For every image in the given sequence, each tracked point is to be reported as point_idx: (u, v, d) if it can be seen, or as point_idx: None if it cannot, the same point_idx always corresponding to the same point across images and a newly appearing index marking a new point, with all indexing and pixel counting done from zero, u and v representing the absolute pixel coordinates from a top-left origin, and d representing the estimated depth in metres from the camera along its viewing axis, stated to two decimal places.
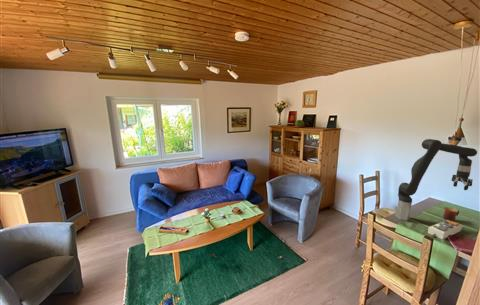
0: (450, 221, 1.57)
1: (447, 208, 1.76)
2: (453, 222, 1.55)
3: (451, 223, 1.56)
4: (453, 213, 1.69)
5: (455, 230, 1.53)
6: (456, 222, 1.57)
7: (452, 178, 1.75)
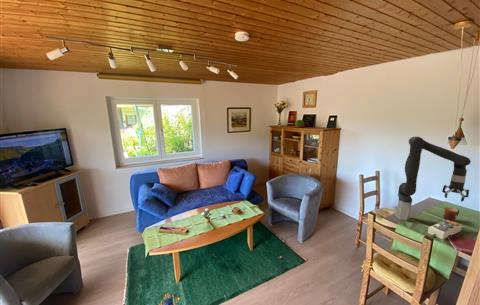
0: (450, 221, 1.57)
1: (447, 208, 1.76)
2: (453, 222, 1.55)
3: (451, 223, 1.56)
4: (453, 213, 1.69)
5: (455, 230, 1.53)
6: (456, 222, 1.57)
7: None
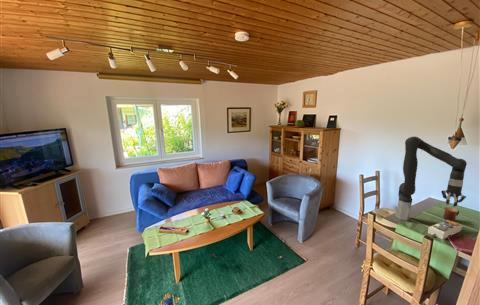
0: (450, 221, 1.57)
1: (447, 208, 1.76)
2: (453, 222, 1.55)
3: (451, 223, 1.56)
4: (453, 213, 1.69)
5: (455, 230, 1.53)
6: (456, 222, 1.57)
7: None
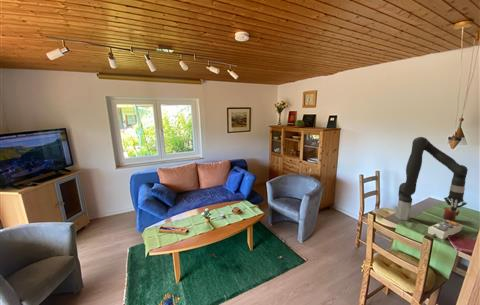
0: (450, 221, 1.57)
1: (447, 208, 1.76)
2: (453, 222, 1.55)
3: (451, 223, 1.56)
4: (453, 213, 1.69)
5: (455, 230, 1.53)
6: (456, 222, 1.57)
7: None
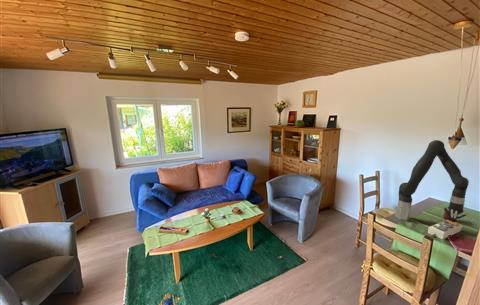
0: (450, 221, 1.57)
1: None
2: (453, 222, 1.55)
3: (451, 223, 1.56)
4: None
5: (455, 230, 1.53)
6: (456, 222, 1.57)
7: (462, 216, 1.52)
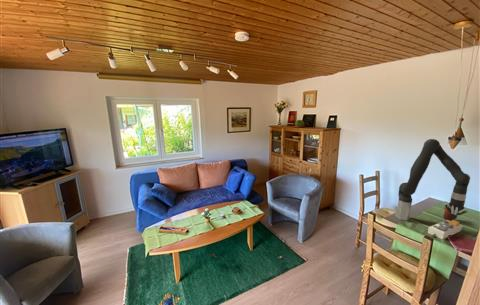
0: (450, 222, 1.57)
1: None
2: (453, 223, 1.55)
3: (451, 224, 1.56)
4: None
5: (455, 230, 1.53)
6: (456, 221, 1.57)
7: None
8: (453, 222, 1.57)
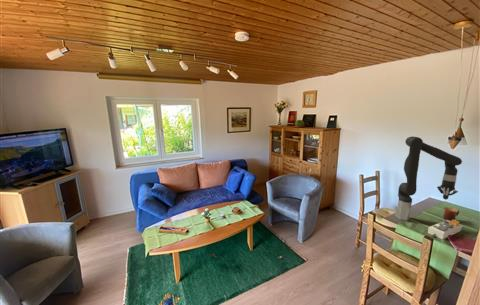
0: (449, 223, 1.57)
1: (447, 208, 1.76)
2: (452, 224, 1.55)
3: None
4: (453, 213, 1.69)
5: (455, 230, 1.53)
6: (456, 221, 1.57)
7: (453, 193, 1.60)
8: (453, 222, 1.57)
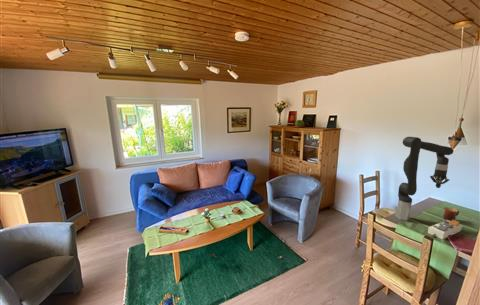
0: (450, 222, 1.57)
1: (447, 208, 1.76)
2: (453, 223, 1.55)
3: (451, 224, 1.57)
4: (453, 213, 1.69)
5: (455, 230, 1.53)
6: (456, 221, 1.57)
7: (445, 182, 1.69)
8: (453, 222, 1.57)
